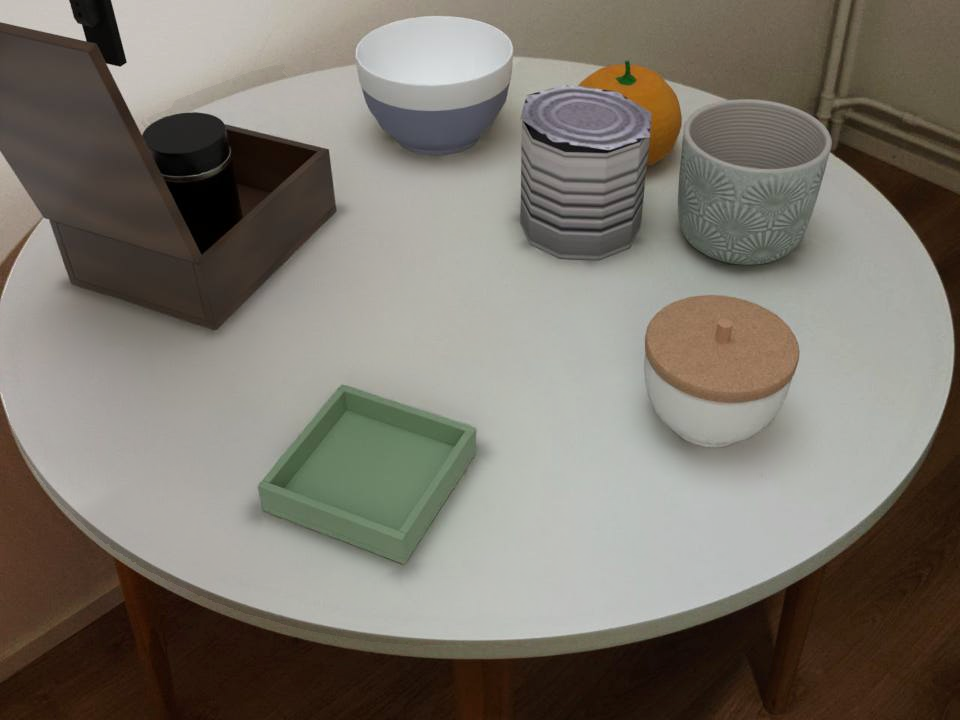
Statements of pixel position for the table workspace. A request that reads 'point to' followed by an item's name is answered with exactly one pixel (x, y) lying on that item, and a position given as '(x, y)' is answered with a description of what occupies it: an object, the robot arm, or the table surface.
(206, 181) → the black canister
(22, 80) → the lid
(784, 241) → the planter
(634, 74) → the fruit
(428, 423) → the tray
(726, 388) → the trinket box
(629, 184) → the can
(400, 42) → the bowl
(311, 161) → the chest
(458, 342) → the table surface
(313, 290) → the table surface
